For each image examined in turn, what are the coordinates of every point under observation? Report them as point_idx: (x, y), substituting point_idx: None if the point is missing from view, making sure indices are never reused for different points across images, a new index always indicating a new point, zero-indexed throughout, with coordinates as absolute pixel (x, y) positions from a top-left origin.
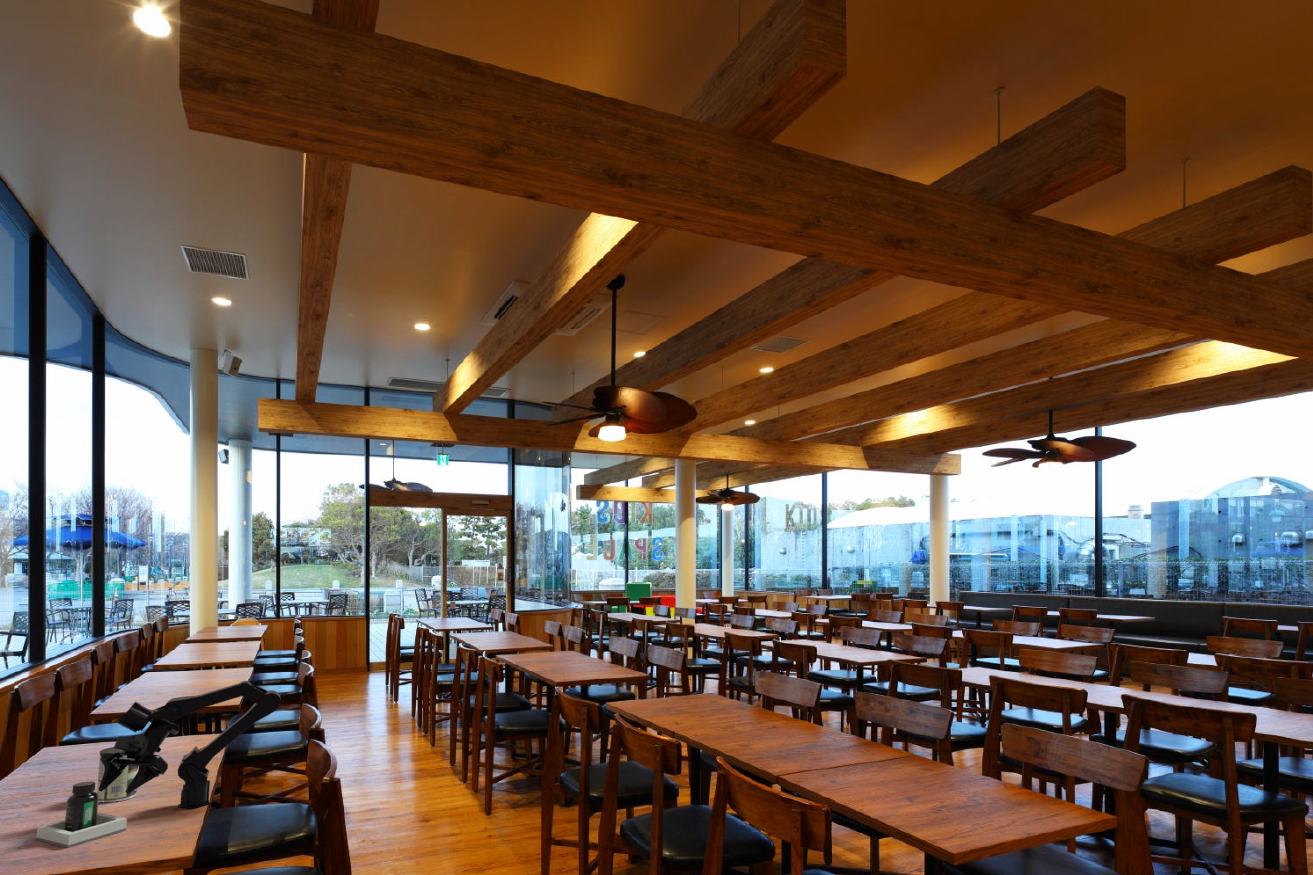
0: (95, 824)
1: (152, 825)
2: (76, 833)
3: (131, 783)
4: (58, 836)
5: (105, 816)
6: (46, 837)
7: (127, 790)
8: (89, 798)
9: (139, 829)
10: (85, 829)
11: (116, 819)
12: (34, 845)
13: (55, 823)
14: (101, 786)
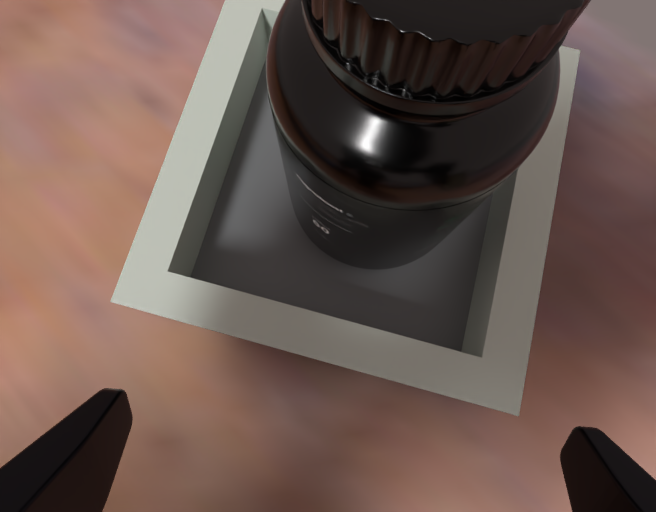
0: (296, 213)
1: (34, 430)
2: (226, 6)
3: (19, 476)
4: None
5: (320, 317)
6: None
7: (93, 400)
8: (280, 10)
9: (68, 341)
10: (221, 60)
11: (181, 275)
12: None
13: None
14: (596, 461)
